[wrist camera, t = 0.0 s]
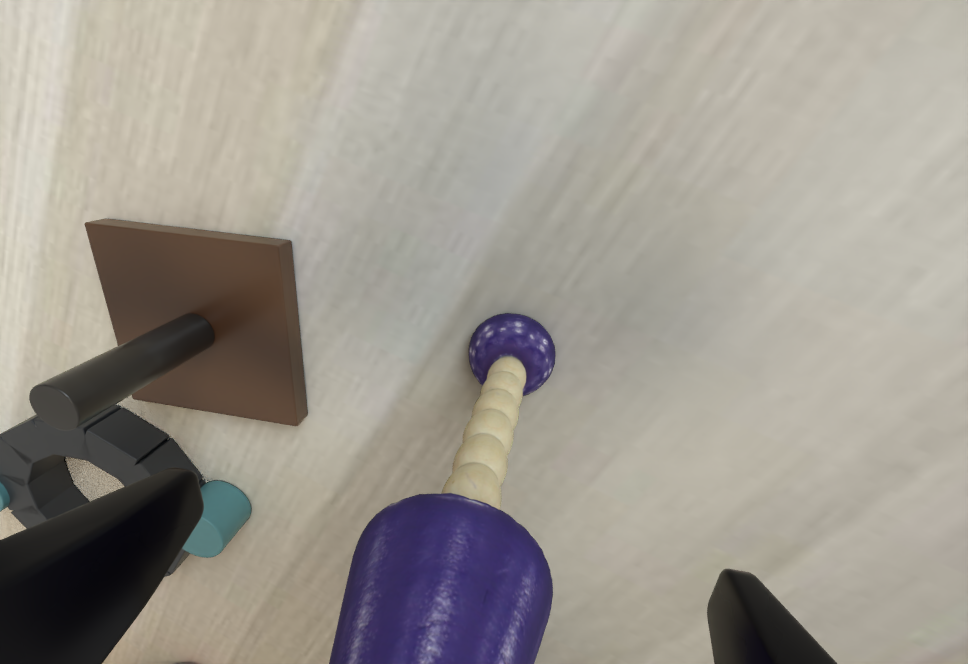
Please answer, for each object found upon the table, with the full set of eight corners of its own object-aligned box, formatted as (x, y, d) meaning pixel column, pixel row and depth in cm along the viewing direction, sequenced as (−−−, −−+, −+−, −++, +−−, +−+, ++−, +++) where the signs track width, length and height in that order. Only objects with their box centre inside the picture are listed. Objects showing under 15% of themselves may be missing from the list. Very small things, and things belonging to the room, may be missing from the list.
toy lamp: (444, 340, 23) (210, 744, 8) (513, 280, 21) (386, 653, 6) (509, 405, 24) (414, 882, 9) (580, 353, 22) (618, 838, 7)
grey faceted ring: (263, 575, 32) (237, 612, 30) (30, 527, 35) (-12, 558, 32) (237, 425, 27) (204, 455, 25) (-35, 379, 29) (-92, 402, 27)
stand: (308, 414, 26) (201, 533, 18) (149, 388, 27) (-14, 490, 20) (291, 240, 22) (145, 297, 14) (105, 218, 23) (-123, 260, 15)
